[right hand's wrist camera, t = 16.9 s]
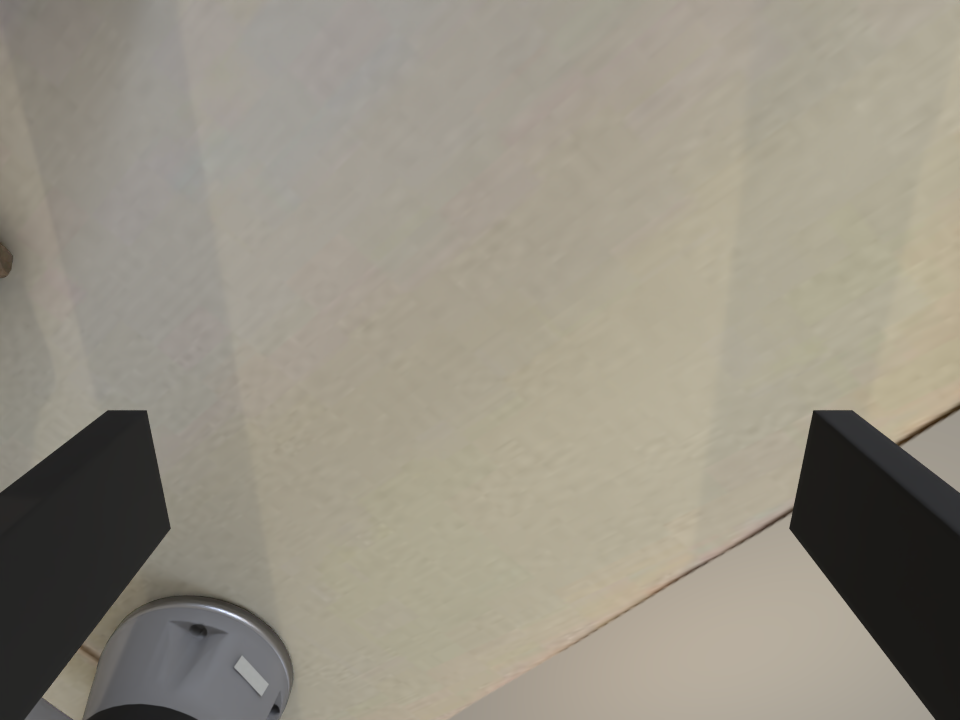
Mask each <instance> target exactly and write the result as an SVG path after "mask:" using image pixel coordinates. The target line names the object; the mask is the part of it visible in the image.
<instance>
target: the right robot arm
mask: <svg viewBox="0 0 960 720" xmlns="http://www.w3.org/2000/svg"><path fill="white" fill-rule="evenodd" d="M170 529H171V528H170V523H169V518H168V513H167V508H166V503H165V498H164V493H163V488H162V483H161V479H160V474H159V469H158V464H157V459H156V454H155V449H154V444H153V439H152V434H151V429H150V425H149V420H148V415H147V410H108V411H106V412H105V413H104V414H102V415H101V416H100V417H99V418H97V419H96V420H95V421H93V422H92V423H91V424H89V425H88V426H87V427H86V428H84V429H83V430H82V431H80V432H79V433H78V434H76V435H75V436H74V437H73V438H71V439H70V440H69V441H67V442H66V443H65V444H63V445H62V446H61V447H60V448H58V449H57V450H56V451H54V452H53V453H52V454H50V455H49V456H48V457H47V458H45V459H44V460H43V461H41V462H40V463H39V464H37V465H36V466H35V467H34V468H32V469H31V470H30V471H28V472H27V473H26V474H24V475H23V476H22V477H21V478H19V479H18V480H17V481H15V482H14V483H13V484H11V485H10V486H9V487H8V488H6V489H5V490H4V491H2V492H1V493H0V720H73V719H72V718H70V717H69V716H67V715H66V714H64V713H63V712H62V711H60V710H59V709H57V708H56V707H54V706H53V705H52V704H50V703H49V702H48V701H46V700H45V699H43V698H42V696H43V695H44V693H45V692H46V691H47V690H48V688H49V687H50V686H51V684H52V683H53V682H54V680H55V679H56V678H57V676H58V675H59V674H60V673H61V671H62V670H63V669H64V667H65V666H66V665H67V663H68V662H69V661H70V659H71V658H72V657H73V656H74V654H75V653H76V652H77V650H78V649H79V648H80V646H81V645H82V644H83V642H84V641H85V640H86V639H87V637H88V636H89V635H90V633H91V632H92V631H93V629H94V628H95V627H96V625H97V624H98V623H99V622H100V620H101V619H102V618H103V616H104V615H105V614H106V612H107V611H108V610H109V608H110V607H111V606H112V605H113V603H114V602H115V601H116V599H117V598H118V597H119V595H120V594H121V593H122V592H123V590H124V589H125V588H126V586H127V585H128V584H129V582H130V581H131V580H132V578H133V577H134V576H135V575H136V573H137V572H138V571H139V569H140V568H141V567H142V565H143V564H144V563H145V561H146V560H147V559H148V558H149V556H150V555H151V554H152V552H153V551H154V550H155V548H156V547H157V546H158V544H159V543H160V542H161V541H162V539H163V538H164V537H165V535H166V534H167V533H168V531H169V530H170ZM789 529H790V530H791V531H792V533H793V534H794V535H795V537H796V538H797V539H798V540H799V542H800V543H801V544H802V546H803V547H804V548H805V550H806V551H807V552H808V554H809V555H810V556H811V557H812V559H813V560H814V561H815V563H816V564H817V565H818V567H819V568H820V569H821V571H822V572H823V573H824V574H825V576H826V577H827V578H828V580H829V581H830V582H831V584H832V585H833V586H834V588H835V589H836V590H837V591H838V593H839V594H840V595H841V597H842V598H843V599H844V601H845V602H846V603H847V605H848V606H849V607H850V608H851V610H852V611H853V612H854V614H855V615H856V616H857V618H858V619H859V620H860V622H861V623H862V624H863V625H864V627H865V628H866V629H867V631H868V632H869V633H870V635H871V636H872V637H873V639H874V640H875V641H876V642H877V644H878V645H879V646H880V648H881V649H882V650H883V652H884V653H885V654H886V656H887V657H888V658H889V659H890V661H891V662H892V663H893V665H894V666H895V667H896V669H897V670H898V671H899V673H900V674H901V675H902V676H903V678H904V679H905V680H906V682H907V683H908V684H909V686H910V687H911V688H912V690H913V691H914V692H915V693H916V695H917V696H918V697H919V699H920V700H921V701H922V703H923V704H924V705H925V707H926V708H927V709H928V710H929V712H930V713H931V714H932V716H933V717H934V718H935V720H960V493H959V492H958V491H956V490H955V489H954V488H952V487H951V486H950V485H949V484H947V483H946V482H945V481H943V480H942V479H941V478H939V477H938V476H937V475H936V474H934V473H933V472H932V471H930V470H929V469H928V468H926V467H925V466H924V465H923V464H921V463H920V462H919V461H917V460H916V459H915V458H913V457H912V456H911V455H910V454H908V453H907V452H906V451H904V450H903V449H902V448H900V447H899V446H898V445H897V444H895V443H894V442H893V441H891V440H890V439H889V438H887V437H886V436H885V435H884V434H882V433H881V432H880V431H878V430H877V429H876V428H874V427H873V426H872V425H871V424H869V423H868V422H867V421H865V420H864V419H863V418H861V417H860V416H859V415H858V414H856V413H855V412H854V411H852V410H813V415H812V420H811V425H810V429H809V434H808V439H807V444H806V449H805V454H804V459H803V464H802V469H801V474H800V479H799V483H798V488H797V493H796V498H795V503H794V508H793V513H792V518H791V523H790V528H789ZM292 684H293V667H292V663H291V659H290V656H289V654H288V651H287V649H286V647H285V646H284V644H283V643H282V641H281V639H280V638H279V637H278V636H277V634H276V633H275V632H274V631H273V630H272V629H271V628H270V627H269V626H268V625H267V624H265V623H264V622H263V621H262V620H260V619H259V618H258V617H256V616H255V615H253V614H251V613H250V612H248V611H246V610H244V609H242V608H240V607H238V606H236V605H233V604H231V603H228V602H225V601H222V600H218V599H213V598H208V597H201V596H174V597H167V598H163V599H158V600H155V601H152V602H149V603H147V604H145V605H143V606H141V607H139V608H138V609H136V610H134V611H133V612H132V613H130V614H129V615H128V616H127V617H126V618H125V619H124V620H123V621H122V622H121V623H120V625H119V626H118V627H117V629H116V630H115V631H114V633H113V634H112V636H111V637H110V639H109V640H108V642H107V644H106V646H105V648H104V650H103V652H102V654H101V656H100V659H99V662H98V666H97V671H96V674H95V677H94V681H93V684H92V687H91V691H90V694H89V697H88V701H87V705H86V708H85V712H84V716H83V719H82V720H279V719H280V717H281V715H282V713H283V711H284V709H285V707H286V704H287V701H288V698H289V695H290V692H291V689H292Z"/></svg>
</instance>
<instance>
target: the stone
mask: <svg viewBox="0 0 960 720" xmlns="http://www.w3.org/2000/svg"><path fill="white" fill-rule="evenodd" d="M12 260H13V256H12V254H11V253H10V252H9V251H8V250H7V249H6V248H5V247H4V246H3V245H2V244H1V243H0V278H3V277H6V276H7V275H8V274H9V272H10V271H11V268H12Z"/></svg>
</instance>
